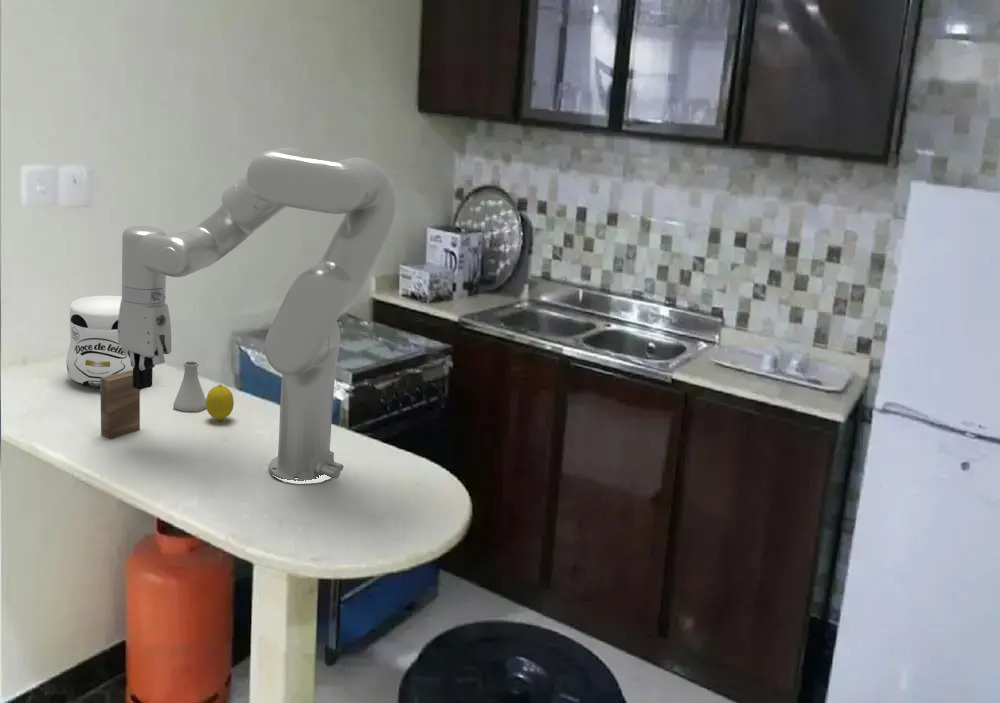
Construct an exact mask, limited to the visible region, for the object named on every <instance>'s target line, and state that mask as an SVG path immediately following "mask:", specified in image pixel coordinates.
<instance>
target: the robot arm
mask: <svg viewBox="0 0 1000 703" xmlns="http://www.w3.org/2000/svg"><path fill="white" fill-rule="evenodd" d="M287 207H288V208H295V209H301V210H305V211H311V212H318V213H323V214H329V215H330V214H332V215H341V214H344V216H343V218H342V220H341V221H340V223H339V224H338V226H337V228H336V230H335V232H334V234H333V235H332V238H331V240H330V242H329V244H328V246H327V248H326V250H325V251H324V253H323V255H322V257H321V258H320V260H319V261H318V262H317V263H316V264H315V265H313V266H311V267H309V268H308V269H307V268H306V270H304V271H302V272H301V273H300V274H299V275H298V276H297V277H296V279H295V280H294V281H293V283H292V284H290V285H291V286H290V287H289V288H288V291H287V293H286V295H285V297H284V298H283V300H282V303H281V305H280V307H279V309H278V311H277V313H276V315H275V317H274V319H273V321H272V323H271V325H270V326H269V329H268V332H267V334H266V337H265V342H264V355H265V357H266V360H267V363H268V364H269V366H270V367H271V368H272V369H273V370H275V371H276V372H277V373H279V374H281V382H280V383H281V384H280V388H281V389H280V403H279V427H278V428H279V429H278V448H277V449H278V451H277V456H276V457H274V458H273V459H272V460H271V461H269V464H268V472H269V471H270V472H269V474H270V473H271V474H272V475H274V476H276V477H278V478H281V479H287V480H294V481H296V480H297V481H304V480H305V481H306V480H312V479H317V478H316V477H318V478H319V475H320V476H321V475H324V474H325V475H327V476H329V477H331V479H334V480H337V479H338V478H339V477H340V475H341V472H342V471H343V470H344V465H343V464H341V463H340V462H335V452H333V451H331V437H332V435H331V434H332V422H333V404H334V394H335V393H334V390H335V380H336V379H335V378H336V369H337V363H338V357H339V354H340V346H341V331H340V326H339V324H338V322H337V320H338V319H339V318H340V316H341V315H343V314H344V313H345V312H347V311H348V310H350V308H352V307H353V306H354V305H355V303H356V302H357V301H358V299H359V296H360V294H361V292H362V290H363V288H364V285H365V284H366V282H367V280H368V278H369V276H370V274H371V272H372V269H373V268H374V265H375V264H376V261H377V259H378V257H379V255H380V253H381V251H382V249H383V247H384V245H385V243H386V241H387V239H388V236H389V235H390V232H391V229H392V227H393V223H394V219H395V215H396V198H395V193H394V189H393V186H392V183H391V182H390V179H389V178H388V176H387V175H386V173H385V171H384V170H383V169H382V168H381V167H380V166H379V165H378V164H376V162H374V161H372V160H370V159H367V158H363V157H349V158H345V159H341V160H337V161H331V160H323V159H315V158H310V156H309V155H307V153H305V152H303V151H301V150H300V149H297V148H294V147H282V148H275V149H269V150H265V151H264V152H260V153H259V154H258V155H256V156H255V157H254V158H253V159H252V160H251V162H250V163H249V166H248V167H247V171H246V174H245V175H243V176H242V177H241V178H239V179H238V180H237V181H235V182H234V183H233V184H232V185H231V186H229V187H227V188H226V189H225V190H223V191H222V194H221V205H220V206H219V207H218V208H217V209H216V210H215V211H214V212H213V213H211V214H210V216H208V217H207V218H206V219H204V220H203V221H202V222H200V223H198V224H197V225H196V226H194V227H193V228H191V229H187V230H183V231H180V232H177V233H174V234H173V233H172V234H169V235H168V234H167V235H166V232H165V231H164V230H163V229H161V228H159V227H155V226H149V225H148V226H147V225H134V226H129V227H126V228H125V229H124V231H123V232H122V237H121V241H122V242H121V243H122V244H121V276H122V277H121V296H122V299H121V303H120V309H119V318H118V342H119V345H120V346H121V347H122V350H123V351H124V352H125V353H126V354H128V356H129V357H130V363H131V366H132V367H134V368H133V387H134V388H137V389H139V390H140V391H141V390H143V389H144V390H145V389H147V388H151V387H152V386H153V372H154V371H153V369H154V368H156V366H157V365H158V366H159V365H162V364H165V355H169V354H171V352H172V327H171V326H172V325H171V324H172V323H171V315H170V310H169V306H168V303H166V299H167V298H166V283H167V280H166V278H167V277H166V276H168V277H171V278H182V277H183V278H184V277H186V276H188V275H191V274H193V273H196V272H197V271H200V270H203V269H205V268H206V269H207V268H208V267H211V266H212V265H214V264H215V263H217V262H218V261H219V260H221V259H222V258H224V257H225V256H226V255H228V254H229V253H230V252H232V251H233V250H235V248H237V247H239V245H241V244H242V243H243V242H244V241H246V240H247V239H248V238H249V237H250V236H251V235H253V234H254V233H255V232H256V231H257V230H258V229H260V227H262V226H263V225H265V224H267V222H268V221H270V220H271V219H272V218H273V217H275V216H276V215H278V214H279V213H280V212H282V211H284V209H286V208H287ZM146 358H148V359H146ZM271 474H270V475H271ZM272 475H271V476H272ZM295 478H298V479H295Z"/></svg>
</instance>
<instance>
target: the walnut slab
mask: <svg viewBox="0 0 1000 703" xmlns="http://www.w3.org/2000/svg"><path fill="white" fill-rule="evenodd" d="M99 390H100V436H101V437H103V438H105V439H107V440H113V439H114V438H118V437H121V436H125V435H128V434H131V433H135V432H137V431H140V430H141V422H140V421H141V411H140V410H141V405H140V404H141V401H140V400H141V396H140V395H141V390H139V389H137V388H134V387H133V371H132V370H129V371H125V372H121V373H117V374H113V375H109V376H105V377H101V378H100V388H99Z"/></svg>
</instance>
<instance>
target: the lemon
mask: <svg viewBox="0 0 1000 703" xmlns="http://www.w3.org/2000/svg"><path fill="white" fill-rule="evenodd" d="M205 398H206V408H205V409H206V411H207V413H208V415H210V417H212V418H214V419H216V420H217V421H219V422H220V421H222V420H223V419H226V418H227V417H228V416H230V414H231V413H232V412H233V409H234V404H235V403H234V401H235V400H234V396H233V392H232V391H231V390H230V388H228V387H226V386H224V385H223V384H218V385H216V386H213V387H212V388H211V389H210V390H209V391H208V393H207V395H206V397H205Z"/></svg>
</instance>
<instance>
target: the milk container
mask: <svg viewBox="0 0 1000 703" xmlns="http://www.w3.org/2000/svg"><path fill="white" fill-rule="evenodd" d="M121 299H122V295H111V294H110V295H108V294H106V295H89V296H84V297H79V298H76V299H75V300H72V301H71V303H70V308H69V332H70V336H69V337H70V341H69V347H68V350H67V355H66V360H65V362H66V370H67V374H68V376H69V378H70V379H71V380H72V381H73V382H74V383H75V384H78V385H81V386H82V387H87V388H94V389H100V378H101V377H105V376H109V375H113V374H117V373H121V372H125V371H129V370H132V371H133V368H134V367H132V366H131V363H130V357H129V356H128V354H126V353H125V352H124V351H123V350H122V347H121V346H120V345H119V342H118V318H119V309H120V303H121ZM146 359H148V358H146Z"/></svg>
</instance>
